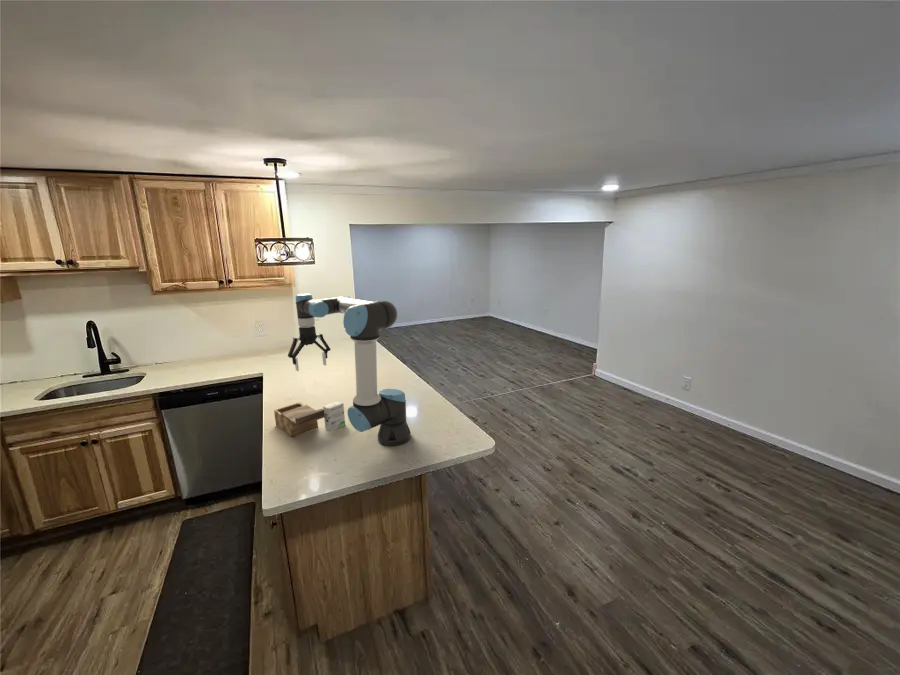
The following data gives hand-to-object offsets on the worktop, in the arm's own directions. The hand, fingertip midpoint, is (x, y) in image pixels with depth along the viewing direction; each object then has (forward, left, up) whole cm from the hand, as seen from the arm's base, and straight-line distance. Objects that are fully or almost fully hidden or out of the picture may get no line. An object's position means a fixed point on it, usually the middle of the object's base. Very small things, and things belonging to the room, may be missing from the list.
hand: (311, 367), depth 199 cm
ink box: (-16, -2, -27) cm, 32 cm away
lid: (-10, +11, -19) cm, 24 cm away
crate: (-2, +11, -27) cm, 29 cm away
